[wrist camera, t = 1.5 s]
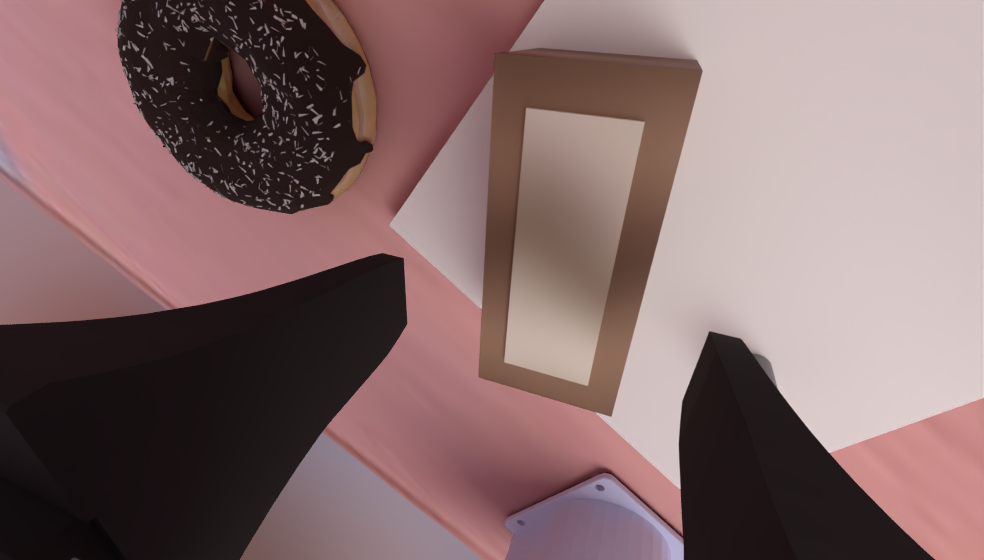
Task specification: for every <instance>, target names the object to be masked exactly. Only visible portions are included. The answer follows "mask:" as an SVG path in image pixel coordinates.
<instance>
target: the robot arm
mask: <svg viewBox="0 0 984 560" xmlns="http://www.w3.org/2000/svg"><path fill="white" fill-rule="evenodd" d="M406 325H407V311H406V293H405V275H404V258H400V257H396V256H392V255H388V254H384V253H381V254H377V255H373V256H369V257H365V258H362V259H359V260H356V261H353V262H349V263H346V264H343V265H340V266H337V267H334V268H331V269H328V270H325V271H322V272H319V273H316V274H313V275H310V276H307V277H304V278H301V279H298V280H295V281H291V282H288V283H285V284H281V285H278V286H275V287H271V288H268V289H265V290H261V291H258V292H254V293H250V294H246V295H242V296H238V297H234V298H230V299H225V300H221V301H216V302H212V303H207V304H202V305H197V306H191V307H185V308H178V309H172V310H166V311H160V312H154V313H148V314H140V315H132V316H124V317H116V318H105V319H94V320H85V321H70V322H52V323H33V324H14V325H13V324H12V325H0V560H240V558H241V556H242V555H243V553H244V551H245V549H246V548H247V546H248V544H249V543H250V541H251V540H252V538H253V536H254V535H255V533H256V531H257V530H258V528H259V526H260V525H261V523H262V521H263V520H264V518H265V517H266V515H267V513H268V512H269V510H270V508H271V507H272V505H273V504H274V502H275V501H276V499H277V497H278V496H279V494H280V493H281V491H282V490H283V488H284V487H285V485H286V484H287V482H288V480H289V479H290V478H291V476H292V474H293V473H294V471H295V470H296V468H297V467H298V466H299V464H300V463H301V461H302V460H303V458H304V457H305V455H306V454H307V453H308V451H309V450H310V448H311V447H312V445H313V444H314V443H315V441H316V440H317V438H318V436H319V435H320V434H321V433H322V432H323V430H324V429H325V428H326V427H327V425H328V424H329V423H330V422H331V420H332V419H333V418H334V417H335V416H336V414H337V413H338V412H339V411H340V410H341V409H342V407H343V406H344V405H345V404H346V403H347V402H348V401H349V399H350V398H351V397H352V396H353V395H354V394H355V392H356V391H357V390H358V389H359V388H360V387H361V386H362V384H363V383H364V382H365V381H366V380H367V379H368V377H369V376H370V375H371V374H372V373H373V372H374V370H375V369H376V368H377V367H378V366H379V365H380V363H381V362H382V361H383V360H384V359H385V357H386V356H387V355H388V353H389V352H390V350H391V349H392V347H393V346H394V344H395V343H396V341H397V340H398V338H399V337H400V335H401V333H402V332H403V330H404V328H405V327H406ZM679 466H680V487H681V506H682V525H683V538H682V537H681V536H679V535H678V534H677V533H676V532H675V531H674V530H673V529H672V528H671V527H669V526H668V525H667V524H666V523H665V522H664V521H663V520H662V519H660V518H659V517H658V516H657V515H656V514H655V513H654V512H653V511H652V510H650V509H649V508H648V507H647V506H646V505H645V504H644V503H643V502H642V501H640V500H639V499H638V498H637V497H636V496H635V495H634V494H633V493H632V492H630V491H629V490H628V489H627V488H626V487H625V486H624V485H623V484H622V483H620V482H619V481H618V480H617V479H616V478H615V477H614V476H612V475H611V474H608V473H602V474H599V475H597V476H595V477H593V478H591V479H588V480H586V481H584V482H582V483H580V484H578V485H576V486H573V487H571V488H569V489H567V490H565V491H563V492H561V493H558V494H556V495H554V496H552V497H550V498H548V499H546V500H543V501H541V502H539V503H537V504H535V505H533V506H531V507H528V508H526V509H524V510H522V511H520V512H518V513H516V514H513V515H511V516H509V517H507V518H506V520H505V527H506V528H507V529H508V530H509V531H510V532H512V533H513V534H514V535H513V538H512V541H511V544H510V547H509V550H508V553H507V556H506V559H505V560H935V559H934V558H932V557H931V556H930V555H929V554H928V553H927V552H926V551H925V550H924V549H923V548H921V547H920V546H919V545H918V544H917V543H916V542H915V541H914V540H913V539H912V538H911V537H910V536H909V535H908V534H907V533H906V532H904V531H903V530H902V529H901V528H900V527H899V526H898V525H897V524H896V523H895V522H894V521H893V520H892V519H891V518H890V517H889V516H888V515H887V514H886V513H885V512H884V511H883V510H882V509H881V508H880V507H879V506H878V505H877V504H876V503H875V502H874V501H873V500H872V499H871V498H870V497H869V496H868V495H867V494H866V493H865V491H864V490H863V489H862V488H861V487H860V486H859V485H858V484H857V483H856V482H855V481H854V480H853V479H852V478H851V477H850V476H849V475H848V474H847V473H846V471H845V470H844V469H843V468H842V467H841V466H840V465H839V464H838V463H837V461H836V460H835V459H834V458H833V457H832V456H831V455H830V453H829V452H828V451H827V450H826V449H825V448H824V446H823V445H822V444H821V443H820V442H819V441H818V439H817V438H816V437H815V436H814V435H813V434H812V432H811V431H810V430H809V429H808V427H807V426H806V425H805V424H804V422H803V421H802V420H801V419H800V418H799V416H798V415H797V414H796V412H795V411H794V410H793V409H792V407H791V406H790V405H789V403H788V402H787V401H786V399H785V398H784V397H783V396H782V394H781V393H780V391H779V390H778V389H777V387H776V386H775V385H774V383H773V382H772V381H771V379H770V378H769V376H768V375H767V374H766V372H765V371H764V369H763V368H762V367H761V365H760V364H759V362H758V361H757V360H756V358H755V357H754V355H753V354H752V353H751V351H750V350H749V348H748V347H747V346H746V344H745V343H744V342H743V340H742V339H740V338H736V337H732V336H728V335H724V334H719V333H715V332H711V331H709V333H708V336H707V338H706V341H705V344H704V346H703V349H702V351H701V354H700V357H699V359H698V362H697V364H696V367H695V369H694V372H693V375H692V377H691V380H690V382H689V385H688V388H687V390H686V393H685V395H684V398H683V400H682V408H681V419H680V431H679Z"/></svg>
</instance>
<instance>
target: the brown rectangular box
mask: <svg viewBox="0 0 984 560" xmlns="http://www.w3.org/2000/svg"><path fill="white" fill-rule="evenodd" d="M702 72H703V70H702V68H701V66H700V64H699V63H698V61H697V60H689V59H676V58H663V57H651V56H638V55H625V54H612V53H599V52H587V51H574V50H561V49H548V48H535V49H527V50H519V51H510V52H502V53H495V59H494V79H493V98H492V118H491V138H490V158H489V178H488V198H487V218H486V238H485V257H484V277H483V297H482V317H481V337H480V357H479V377H480V378H483V379H486V380H490V381H493V382H496V383H500V384H503V385H506V386H510V387H513V388H516V389H520V390H523V391H526V392H530V393H533V394H537V395H540V396H543V397H547V398H550V399H553V400H557V401H560V402H563V403H567V404H570V405H573V406H577V407H580V408H583V409H587V410H590V411H593V412H597V413H600V414H603V415H607V416H610V417H612V413H613V409H614V405H615V402H616V398H617V394H618V390H619V386H620V383H621V379H622V375H623V371H624V368H625V364H626V360H627V356H628V352H629V349H630V345H631V341H632V337H633V333H634V330H635V326H636V322H637V318H638V315H639V311H640V307H641V303H642V299H643V296H644V292H645V288H646V284H647V280H648V277H649V273H650V269H651V265H652V261H653V258H654V254H655V250H656V246H657V243H658V239H659V235H660V231H661V227H662V224H663V220H664V216H665V212H666V208H667V205H668V201H669V197H670V193H671V189H672V186H673V182H674V178H675V174H676V171H677V167H678V163H679V159H680V155H681V152H682V148H683V144H684V140H685V136H686V133H687V129H688V125H689V121H690V118H691V114H692V110H693V106H694V102H695V99H696V95H697V91H698V87H699V83H700V80H701V76H702Z"/></svg>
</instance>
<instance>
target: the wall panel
mask: <svg viewBox="0 0 984 560" xmlns="http://www.w3.org/2000/svg"><path fill="white" fill-rule="evenodd" d="M535 48H548V49H561V50H574V51H587V52H599V53H612V54H625V55H638V56H651V57H663V58H676V59H689V60H697V61H698V63H699V64H700V66H701V68H702V70H703V72H702V76H701V80H700V83H699V87H698V91H697V95H696V99H695V102H694V106H693V110H692V114H691V118H690V121H689V125H688V129H687V133H686V136H685V140H684V144H683V148H682V152H681V155H680V159H679V163H678V167H677V171H676V174H675V178H674V182H673V186H672V189H671V193H670V197H669V201H668V205H667V208H666V212H665V216H664V220H663V224H662V227H661V231H660V235H659V239H658V243H657V246H656V250H655V254H654V258H653V261H652V265H651V269H650V273H649V277H648V280H647V284H646V288H645V292H644V296H643V299H642V303H641V307H640V311H639V315H638V318H637V322H636V326H635V330H634V333H633V337H632V341H631V345H630V349H629V352H628V356H627V360H626V364H625V368H624V371H623V375H622V379H621V383H620V386H619V390H618V394H617V398H616V402H615V405H614V409H613V413H612V417H610V416H607V415H603V414H600V413H597V412H595V413H596V414H597V415H598V416H599V417H600V418H602V419H603V420H604V421H605V422H606V423H607V424H608V425H609V426H610V427H611V428H613V429H614V430H615V431H616V432H617V433H618V434H619V435H620V436H621V437H623V438H624V439H625V440H626V441H627V442H628V443H629V444H630V445H631V446H632V447H634V448H635V449H636V450H637V451H638V452H639V453H640V454H641V455H642V456H643V457H645V458H646V459H647V460H648V461H649V462H650V463H651V464H652V465H653V466H654V467H656V468H657V469H658V470H659V471H660V472H661V473H662V474H663V475H664V476H665V477H667V478H668V479H669V480H670V481H671V482H672V483H673V484H674V485H675V486H677V487H678V488H679V489H680V490H681V487H680V466H679V431H680V419H681V408H682V400H683V398H684V395H685V393H686V390H687V388H688V385H689V382H690V380H691V377H692V375H693V372H694V369H695V367H696V364H697V362H698V359H699V357H700V354H701V351H702V349H703V346H704V344H705V341H706V338H707V336H708V333H709V331H711V332H715V333H719V334H724V335H728V336H732V337H736V338H740V339H742V340H743V342H744V343H745V344H746V346H747V347H748V348H749V350H750V351H751V353H752V354H753V355H754V357H755V358H756V360H757V361H758V362H759V364H760V365H761V367H762V368H763V369H764V371H765V372H766V374H767V375H768V376H769V378H770V379H771V381H772V382H773V383H774V385H775V386H776V387H777V389H778V390H779V391H780V393H781V394H782V396H783V397H784V398H785V399H786V401H787V402H788V403H789V405H790V406H791V407H792V409H793V410H794V411H795V412H796V414H797V415H798V416H799V418H800V419H801V420H802V421H803V422H804V424H805V425H806V426H807V427H808V429H809V430H810V431H811V432H812V434H813V435H814V436H815V437H816V438H817V439H818V441H819V442H820V443H821V444H822V445H823V446H824V448H825V449H826V450H827V451H828V452H829V453H831V452H833V451H836V450H839V449H842V448H845V447H847V446H850V445H853V444H856V443H859V442H861V441H864V440H867V439H870V438H873V437H875V436H878V435H881V434H884V433H886V432H889V431H892V430H895V429H898V428H900V427H903V426H906V425H909V424H912V423H914V422H917V421H920V420H923V419H926V418H928V417H931V416H934V415H937V414H940V413H942V412H945V411H948V410H951V409H954V408H956V407H959V406H962V405H965V404H967V403H970V402H973V401H976V400H979V399H981V398H984V0H544V2H543V3H542V4H541V6H540V7H539V9H538V10H537V12H536V13H535V15H534V16H533V18H532V19H531V20H530V22H529V23H528V25H527V26H526V28H525V29H524V31H523V32H522V33H521V35H520V36H519V38H518V39H517V41H516V42H515V44H514V45H513V47H512V48H511V49H510V51H519V50H527V49H535ZM510 51H509V52H510ZM493 79H494V74H493V75H492V77H491V78H490V80H489V81H488V83H487V84H486V86H485V87H484V89H483V90H482V91H481V93H480V94H479V96H478V97H477V99H476V100H475V102H474V103H473V104H472V106H471V107H470V109H469V110H468V112H467V113H466V115H465V116H464V117H463V119H462V120H461V122H460V123H459V125H458V126H457V128H456V129H455V131H454V132H453V133H452V135H451V136H450V138H449V139H448V141H447V142H446V144H445V145H444V146H443V148H442V149H441V151H440V152H439V154H438V155H437V157H436V158H435V159H434V161H433V162H432V164H431V165H430V167H429V168H428V170H427V171H426V173H425V174H424V175H423V177H422V178H421V180H420V181H419V183H418V184H417V186H416V187H415V188H414V190H413V191H412V193H411V194H410V196H409V197H408V199H407V200H406V202H405V203H404V204H403V206H402V207H401V209H400V210H399V212H398V213H397V215H396V216H395V217H394V219H393V220H392V222H391V223H390V225H389V226H390V227H391V228H392V229H393V230H394V231H396V232H397V233H398V234H399V235H400V236H401V237H402V238H403V239H404V240H405V241H407V242H408V243H409V244H410V245H411V246H412V247H413V248H414V249H415V250H416V251H418V252H419V253H420V254H421V255H422V256H423V257H424V258H425V259H426V260H427V261H429V262H430V263H431V264H432V265H433V266H434V267H435V268H436V269H437V270H439V271H440V272H441V273H442V274H443V275H444V276H445V277H446V278H447V279H448V280H450V281H451V282H452V283H453V284H454V285H455V286H456V287H457V288H458V289H459V290H461V291H462V292H463V293H464V294H465V295H466V296H467V297H468V298H469V299H470V300H472V301H473V302H474V303H475V304H476V305H477V306H478V307H479V308H480V309H481V310H482V297H483V277H484V257H485V238H486V218H487V198H488V178H489V158H490V138H491V118H492V98H493Z"/></svg>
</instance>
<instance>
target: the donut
mask: <svg viewBox="0 0 984 560" xmlns="http://www.w3.org/2000/svg"><path fill="white" fill-rule="evenodd" d="M118 13H119V14H118V18H119V21H118V23H117V24H119V26H118V27H117V28H116V29H115V31H118V35H117V36H118V50H119V54H120V59H121V63H122V65H123V69H124V70H123V72H124V74H125V77H127V79H128V82H129V83H128V84H129V85H130V88H131V91H132V95H133V97H134V100H135V103H134V104H136V105H137V107H138V109H139V111H140V113H141V115H142V116H143V117H144V118H145V120H146V122H147V123H148V125H149V126H150V128H151V130H152V131H154V132H155V133H156V134H155V135H156V138H157V139H159V140H161V141H162V142H163V143H162V144H164V145H165V146H164V145H163V147H165V148H166V149H167V150H169V151H170V154H172V155H173V156H174V157H175V159H176V160H177V161H178V162H179V164H181V165H182V166H183V168H184V169H185V170H186V172H187V173H188V172H189V174H191V175H192V176H193V177H194V179H195V178H196V179H197V181H198V182H200V183H201V182H202V183H203V185H204V186H205V187H206V186H207V187H209V188H210V189H212V190H213V191H214V193H215V194H218V193H219V194H220V195H221V197H225V198H228V199H230V200H231V201H233V202H238V203H241V204H244V205H246V206H250V207H253V208H259V209H264V210H270V211H276V212H282V213H288V214H293V213H296V212H298V211H303V210H305V209H309V208H314V207H318V206H323V205H328V204H329V203H331V202H332V200H333V199H334V198H336V197H337V196H339V195H340V194H342V193H343V192H345V191H346V190H348V188H349V187H350V186H351V184H352V183H353V182H354V181H355V179H356V178H357V177H358V176H359V174H360V173H361V171H362V169H363V167H364V165H365V163H366V161H367V158H368V156H369V153H370V152H371V151H372V150H373V144H374V141H375V139H376V109H377V97H376V90H375V87H374V83H373V80H372V76H371V73H370V69H369V66H368V63H367V59H366V56H365V53H364V51H363V49H362V47H361V45H360V43H359V41H358V39H357V37H356V36H355V34H354V32H353V30H352V29H351V27H350V25H349V24H348V22H347V20H346V18H345V17H344V15H343V13H342V12H341V11H340V10H339V8H338V7H337V6H336V4H335V3H334V2H333V1H332V0H122V5H121V9H120V11H119V12H118ZM230 48H231V49H232V50H234V51H235V52H236V53H237V54H239V55H240V56H241V57H242V58H244V59H245V60H246V62H247V63H248V65H249V67H250V68H251V70H252V72H253V74H254V75H255V77H256V79H257V80H258V82H259V84H260V86H261V96H262V99H263V100H261V101H263V108H264V109H263V110H262V111H263V112H264V113H263V115H259V116H258V117H256V118H253V117H252V116H251V115H250V114H248V113H247V112H246V111H245V110H244V108H243V107H242V105H241V104H240V102H239V101H238V99H237V98H236V96H235V94H234V93H233V90H232V71H231V66H230V61H229V54H230Z"/></svg>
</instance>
